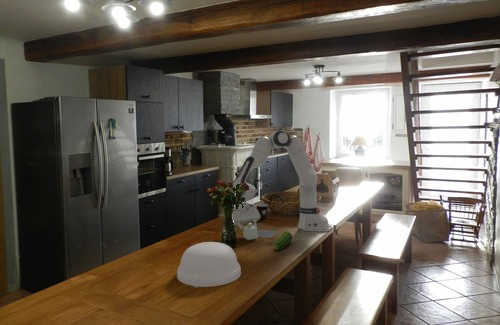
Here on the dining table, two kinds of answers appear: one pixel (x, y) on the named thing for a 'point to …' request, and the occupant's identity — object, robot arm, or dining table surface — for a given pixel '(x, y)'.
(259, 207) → the coffee mug
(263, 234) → the mat
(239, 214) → the robot arm
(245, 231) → the square capped bottle
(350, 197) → the dining table surface
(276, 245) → the vegetable
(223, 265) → the dome cover
